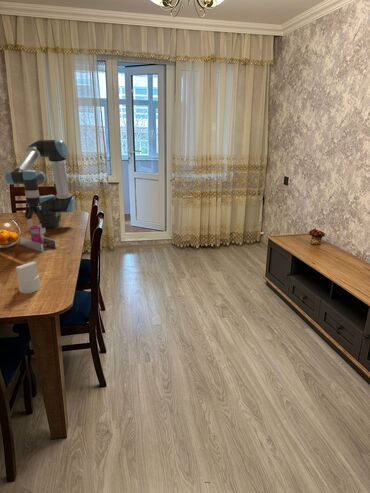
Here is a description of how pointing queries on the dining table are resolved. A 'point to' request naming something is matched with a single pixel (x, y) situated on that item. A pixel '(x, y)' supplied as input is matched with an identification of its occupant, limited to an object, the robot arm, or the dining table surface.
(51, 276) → the dining table surface
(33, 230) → the supplement box
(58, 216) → the food container
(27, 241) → the mounting rail
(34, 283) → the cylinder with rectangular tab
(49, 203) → the robot arm
